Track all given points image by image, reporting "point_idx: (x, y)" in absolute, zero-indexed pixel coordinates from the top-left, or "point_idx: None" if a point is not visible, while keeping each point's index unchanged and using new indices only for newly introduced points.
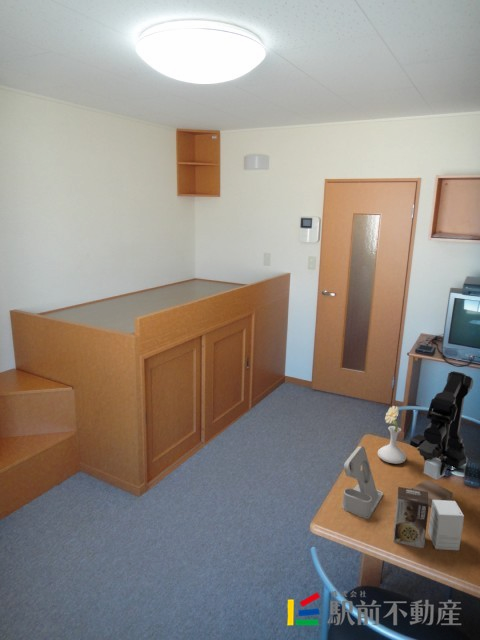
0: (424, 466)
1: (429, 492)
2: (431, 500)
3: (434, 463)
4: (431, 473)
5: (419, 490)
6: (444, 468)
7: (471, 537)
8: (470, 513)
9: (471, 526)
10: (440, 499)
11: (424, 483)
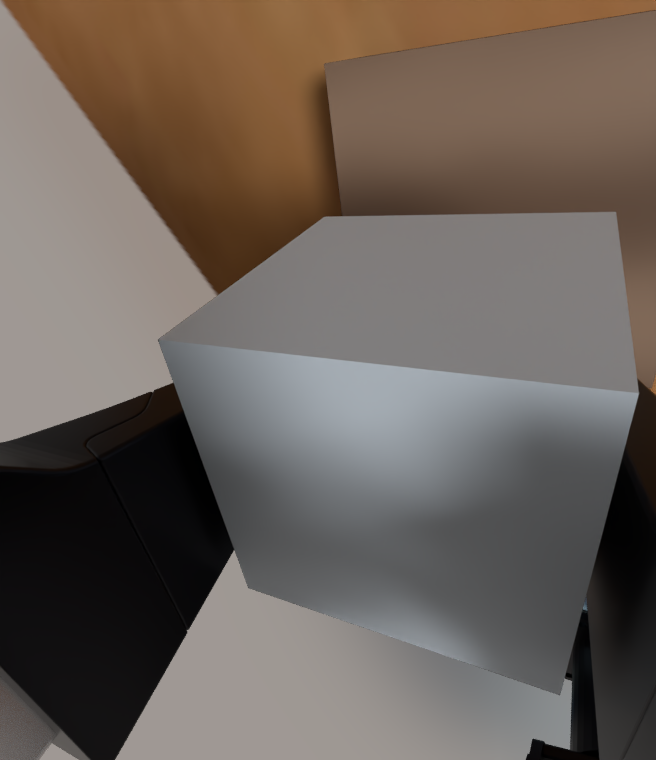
0: (623, 278)
1: (492, 168)
2: (393, 52)
3: (326, 437)
4: (407, 241)
5: (612, 72)
6: (128, 411)
7: (42, 33)
8: (231, 284)
9: (132, 156)
10: (344, 163)
11: (639, 283)
